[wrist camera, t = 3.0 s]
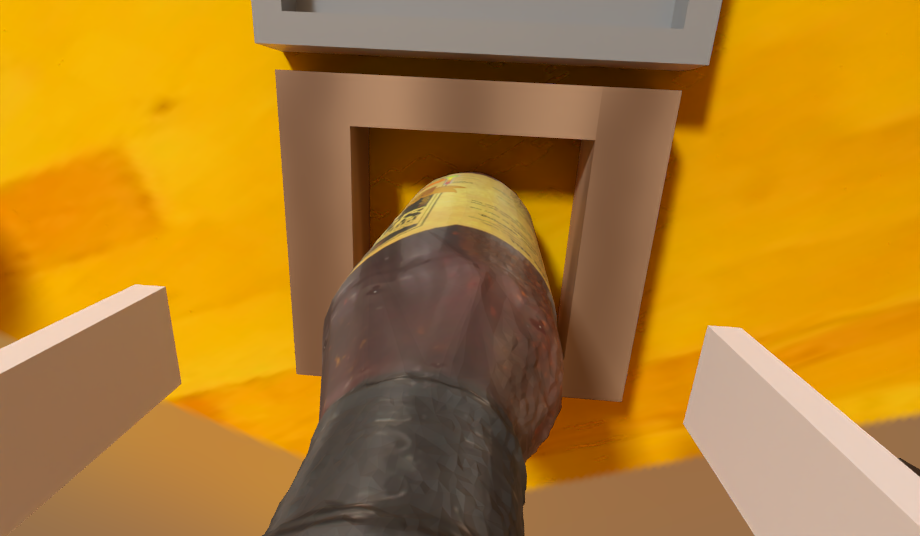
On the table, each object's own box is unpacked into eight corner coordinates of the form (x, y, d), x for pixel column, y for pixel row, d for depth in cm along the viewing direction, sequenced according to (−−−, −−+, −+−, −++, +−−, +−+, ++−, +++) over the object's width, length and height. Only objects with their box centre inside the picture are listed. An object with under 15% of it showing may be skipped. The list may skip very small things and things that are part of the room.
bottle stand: (655, 94, 20) (682, 90, 17) (607, 369, 25) (621, 401, 22) (304, 76, 21) (275, 69, 18) (318, 345, 26) (296, 374, 23)
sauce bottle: (425, 151, 22) (-6, 367, 3) (549, 190, 22) (885, 629, 3) (392, 274, 24) (17, 857, 5) (506, 309, 24) (551, 999, 5)
